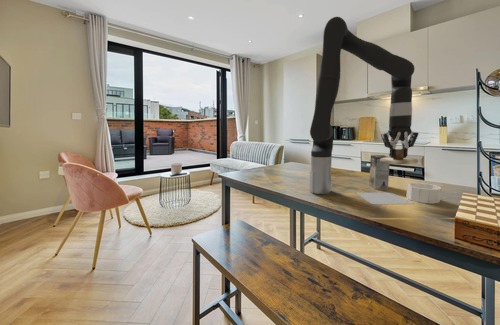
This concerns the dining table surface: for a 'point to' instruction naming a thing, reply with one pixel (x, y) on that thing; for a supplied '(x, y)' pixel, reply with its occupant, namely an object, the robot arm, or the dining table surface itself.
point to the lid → (399, 158)
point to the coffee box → (379, 173)
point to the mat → (383, 198)
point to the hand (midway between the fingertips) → (398, 157)
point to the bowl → (423, 193)
